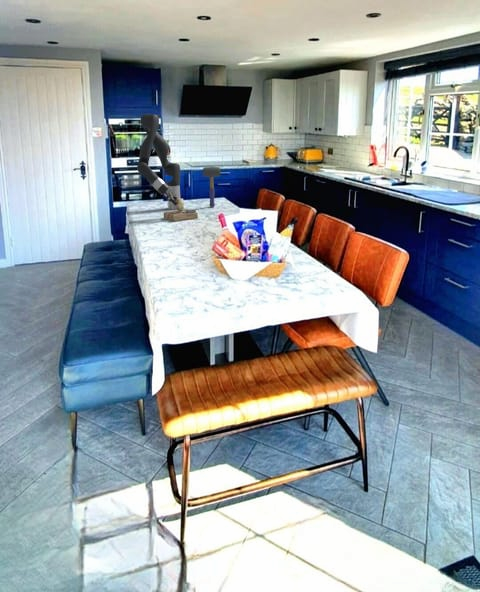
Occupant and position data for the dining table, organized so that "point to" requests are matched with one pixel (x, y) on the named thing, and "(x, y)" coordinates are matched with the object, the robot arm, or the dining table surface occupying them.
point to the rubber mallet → (211, 180)
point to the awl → (180, 205)
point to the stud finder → (191, 211)
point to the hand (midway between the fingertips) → (178, 203)
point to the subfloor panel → (180, 215)
